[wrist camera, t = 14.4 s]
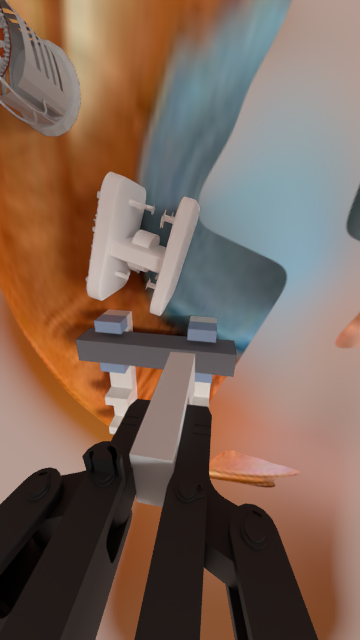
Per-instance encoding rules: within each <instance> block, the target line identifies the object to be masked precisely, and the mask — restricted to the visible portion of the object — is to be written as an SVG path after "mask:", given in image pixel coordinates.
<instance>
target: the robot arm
mask: <svg viewBox="0 0 360 640" xmlns="http://www.w3.org/2000/svg"><path fill="white" fill-rule="evenodd" d="M194 391H195V354H192V353H179V352H170V355H169V357H168V360H167V362H166V365H165V367H164V369H163V372H162V374H161V377H160V379H159V382H158V384H157V387H156V389H155V392H154V394H153V397H152V399H151V401H150V400H142V399H136V400H135V401H134V402H133V403H132V404H131V405H130V406H129V407H128V409H127V411H126V413H125V415H124V417H123V419H122V421H121V423H120V425H119V427H118V429H117V431H116V432H115V434H114V436H113V438H112V440H111V442H110V441H103V442H100V443H98V444H95V445H93V446H92V447H91V448H89V449H88V450H87V451H86V452H85V454H84V455H83V460H84V463H85V467H86V471H82V472H78V473H73V474H68V475H62V476H61V475H60V473H59V472H58V470H57V469H54V468H45V469H41V470H39V471H37V472H35V473H33V474H32V475H31V476H29V477H28V478H27V479H26V480H25V481H24V482H23V483H22V484H21V485H20V486H18V487H17V488H16V489H15V491H13V492H12V493H11V494H10V495H9V497H7V498H6V500H4V501H3V502H2V503H1V504H0V640H95V639H96V635H97V632H98V629H99V625H100V622H101V619H102V616H103V612H104V609H105V606H106V603H107V599H108V596H109V592H110V589H111V586H112V582H113V579H114V576H115V573H116V569H117V566H118V563H119V560H120V556H121V553H122V550H123V547H124V543H125V540H126V537H127V533H128V530H129V527H130V523H131V519H132V510H131V508H132V505H133V501H134V498H135V495H136V499H137V502H140V503H146V504H150V505H155V506H161V507H163V508H162V512H161V518H160V522H159V526H158V531H157V536H156V541H155V545H154V550H153V555H152V559H151V565H150V569H149V574H148V579H147V583H146V588H145V592H144V597H143V602H142V607H141V612H140V616H139V621H138V626H137V630H136V636H135V640H200V626H201V607H202V589H203V588H202V587H203V571H204V568H206V569H207V570H208V571H209V572H211V573H212V574H213V575H215V576H216V577H217V578H218V579H220V580H221V581H222V582H224V583H225V584H226V590H227V596H228V601H229V608H230V613H231V620H232V625H233V631H234V637H235V640H318V638H317V635H316V633H315V630H314V627H313V624H312V622H311V619H310V616H309V614H308V611H307V608H306V606H305V603H304V600H303V597H302V595H301V592H300V589H299V587H298V584H297V581H296V579H295V576H294V573H293V571H292V568H291V565H290V563H289V560H288V557H287V555H286V552H285V549H284V546H283V544H282V541H281V538H280V536H279V533H278V530H277V528H276V526H275V524H274V522H273V520H272V519H271V518H270V516H269V515H268V514H267V513H266V512H265V511H264V510H263V509H261V508H259V507H258V506H256V505H253V504H243V505H240V506H237V505H235V504H234V503H232V502H230V501H229V500H227V499H225V498H224V497H222V496H221V495H220V494H219V493H218V492H217V491H216V490H215V489H214V487H213V485H212V483H211V480H210V477H209V458H210V438H211V420H212V415H211V413H210V411H209V408H208V407H207V406H198V405H192V403H193V397H194Z"/></svg>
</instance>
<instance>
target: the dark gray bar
mask: <svg viewBox="0 0 360 640" xmlns="http://www.w3.org/2000/svg"><path fill="white" fill-rule="evenodd" d="M76 345H77V350H78V356H79V360H82V361H91V362H100V363H110V364H119V365H129V366H138V367H147V368H157V369H164V367H165V365H166V362H167V360H168V357H169V355H170V352H179V353H192V354H195V373H204V374H213V375H222V376H232V377H233V375H234V369H235V362H236V349H235V344H234V341H230V340H218V339H216V343H214V342H203V341H192V340H187V337H184V336H173V335H161V334H150V333H139V332H127V331H123V333H122V334H114V333H103V332H95V329H93V328H89V329H88V330H87V331H86V332H84V333H83V334H82V335H81V336H80V337H78V338H77V339H76Z"/></svg>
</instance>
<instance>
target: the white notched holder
mask: <svg viewBox="0 0 360 640" xmlns="http://www.w3.org/2000/svg"><path fill="white" fill-rule="evenodd" d="M94 325H95V332H103V333H114V334H122V333H123V331H127V332H133V323H132V311H124V310H111V309H108V310H107V311H106V312H105V313H103V314H102V315H101V316H99V317H98V318H97V319H96V320H94ZM216 336H217V320H216V318H215V317H202V316H191V318H190V322H189V326H188V336H187V340H192V341H203V342H214V343H216ZM100 367H101V371H104V372H110V380H111V388H110V389H109V391H108V392H107V394H106V395H105V402H106V405H113V406H114V412H115V416H114V418H113V420H112V422H111V424H110V426H109V430H110V434H115V432H116V431H117V429H118V427H119V425H120V423H121V421H122V419H123V417H124V415H125V413H126V411H127V409H128V407H129V406H130V405H131V404H132V403H133V402H134V401H135V400H136V399H137V384H136V369H135V366H129V365H119V364H110V363H100ZM210 383H212V374H204V373H195V391H194V397H193V403H192V405H198V406H207V407H208V408H209V393H210Z"/></svg>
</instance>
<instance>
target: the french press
mask: <svg viewBox="0 0 360 640" xmlns="http://www.w3.org/2000/svg"><path fill="white" fill-rule="evenodd" d="M2 8H6V9H9V10H11V11H13V12H14V13H15V15H16V16H15V15H14V14H9V13H3V10H2ZM8 18H10V19H15V20H18V22H19V24H17V23H12V22H11V21H10V20H9V19H8ZM25 24H26V22H24V21H23V20H22V18H21V17H20V16H19V15H18V14H17V13H16V12H15V11H14V9H13V8H12V7H11V6H10V5H9V4H8V3H7V2H6V0H0V81H1V87H2V95H0V104H2V105H3V106H4V107H5V108H6V109H7V110H8V111H9V112H11V113H12V114H13V115H14V116H16V117H17V118H19V119H20V120H22V121H24V122H26V123H27V124H30V126H31V127H32V128H33V129H35V130H36V131H38V132H40V133H42V134H43V135H45V136H59V135H61V134H63V133H65V132H67V131H69V130H70V128H71V127H72V125H73V124H74V123H75V121H76V120H77V116H78V112H79V108H80V104H81V98H80V83H79V80H78V77H77V74H76V72H75V69H74V66H73V64H72V62H71V61H70V59H69V58H68V57H67V55H66V54H65V53H64V51H63V50H62V49H61V48H60V47H58V46H57V45H55V44H53V43H52V42H50V41H49V40H41V38H39V37H38V36H35V34H36V33H35V32H34V31H33V30H32V29H31V28H30V27H29V26H28V27H29V28H28V27H26V26H25ZM18 28H20V29H21V31H22V32H21V31H20V30H19V29H18ZM27 30H29V31H30V32H31V34H30V33H28V32H27ZM30 38H33V40H31V41H30ZM8 67H9V74H10V86H9V85H8V84H7V83H6V71H7V69H8ZM6 87H7V88H8V89H9V90H10V93H8V94H7V93H6ZM3 102H4V103H6V104H8V105H9V106H11V107H12V108H14V109H16V110H18V111H19V112H21V114H22V116H23V117H24V118H25V119H24V118H22V117H20V116H18V115H17V114H15V113H14V112H13V111H12V110H11V109H9V108H8V107H7V106H6V105H5V104H4V103H3Z"/></svg>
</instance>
